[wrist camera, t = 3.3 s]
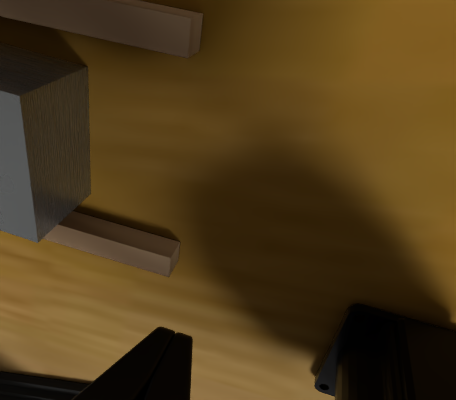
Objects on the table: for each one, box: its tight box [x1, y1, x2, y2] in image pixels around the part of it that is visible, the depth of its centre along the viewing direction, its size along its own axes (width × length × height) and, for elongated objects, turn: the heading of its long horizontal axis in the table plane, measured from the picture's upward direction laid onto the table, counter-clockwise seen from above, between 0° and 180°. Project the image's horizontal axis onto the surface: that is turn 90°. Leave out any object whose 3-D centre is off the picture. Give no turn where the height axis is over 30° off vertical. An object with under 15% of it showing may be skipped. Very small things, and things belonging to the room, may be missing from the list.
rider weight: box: [0, 43, 91, 243], centre depth 16 cm, size 6×5×4 cm
